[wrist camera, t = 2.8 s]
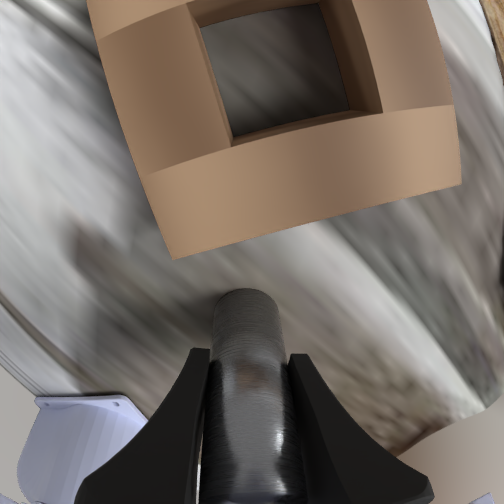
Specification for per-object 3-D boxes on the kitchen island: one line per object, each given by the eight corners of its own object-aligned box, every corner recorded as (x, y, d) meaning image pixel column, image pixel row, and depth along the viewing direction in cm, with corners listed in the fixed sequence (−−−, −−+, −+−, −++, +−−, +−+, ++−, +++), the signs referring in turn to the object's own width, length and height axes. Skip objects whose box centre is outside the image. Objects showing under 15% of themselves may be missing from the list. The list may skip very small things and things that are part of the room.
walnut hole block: (186, 224, 12) (172, 260, 10) (114, -1, 8) (81, -24, 5) (419, 165, 11) (461, 184, 9) (359, -52, 7) (388, -82, 4)
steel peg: (226, 344, 15) (221, 520, 7) (204, 297, 14) (179, 494, 6) (284, 331, 15) (314, 509, 7) (270, 281, 14) (299, 484, 5)
